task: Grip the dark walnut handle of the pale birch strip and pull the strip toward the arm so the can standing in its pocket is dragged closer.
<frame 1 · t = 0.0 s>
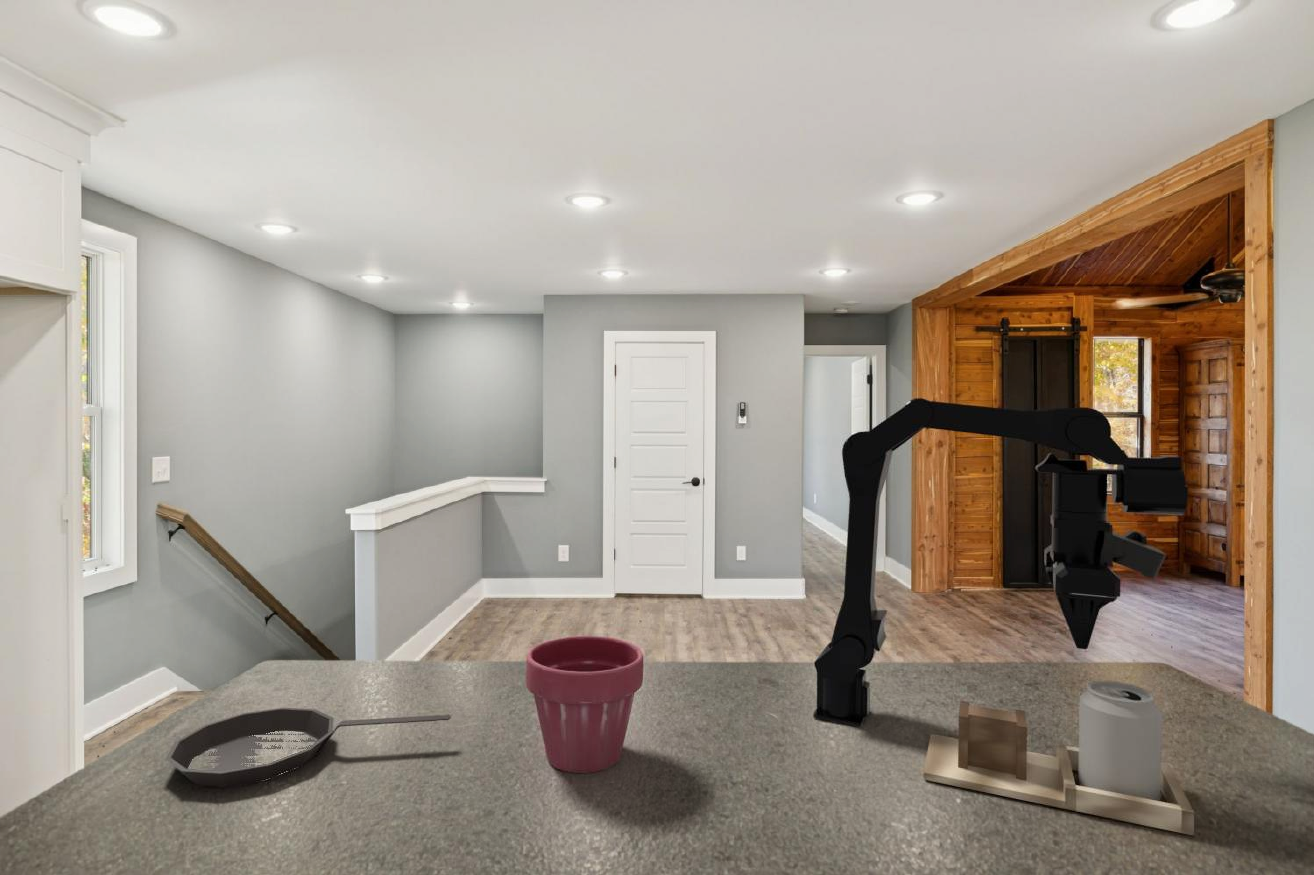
hand: (1077, 637, 85), 15 cm above the countertop, tool pointing down, fingers open, 9 cm apart
can: (1118, 799, 76), resting in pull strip
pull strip: (1045, 751, 79), point 4 cm above the countertop, slide at 0.0 cm
plant pot: (584, 757, 86), on the countertop
frying pan: (316, 756, 86), on the countertop
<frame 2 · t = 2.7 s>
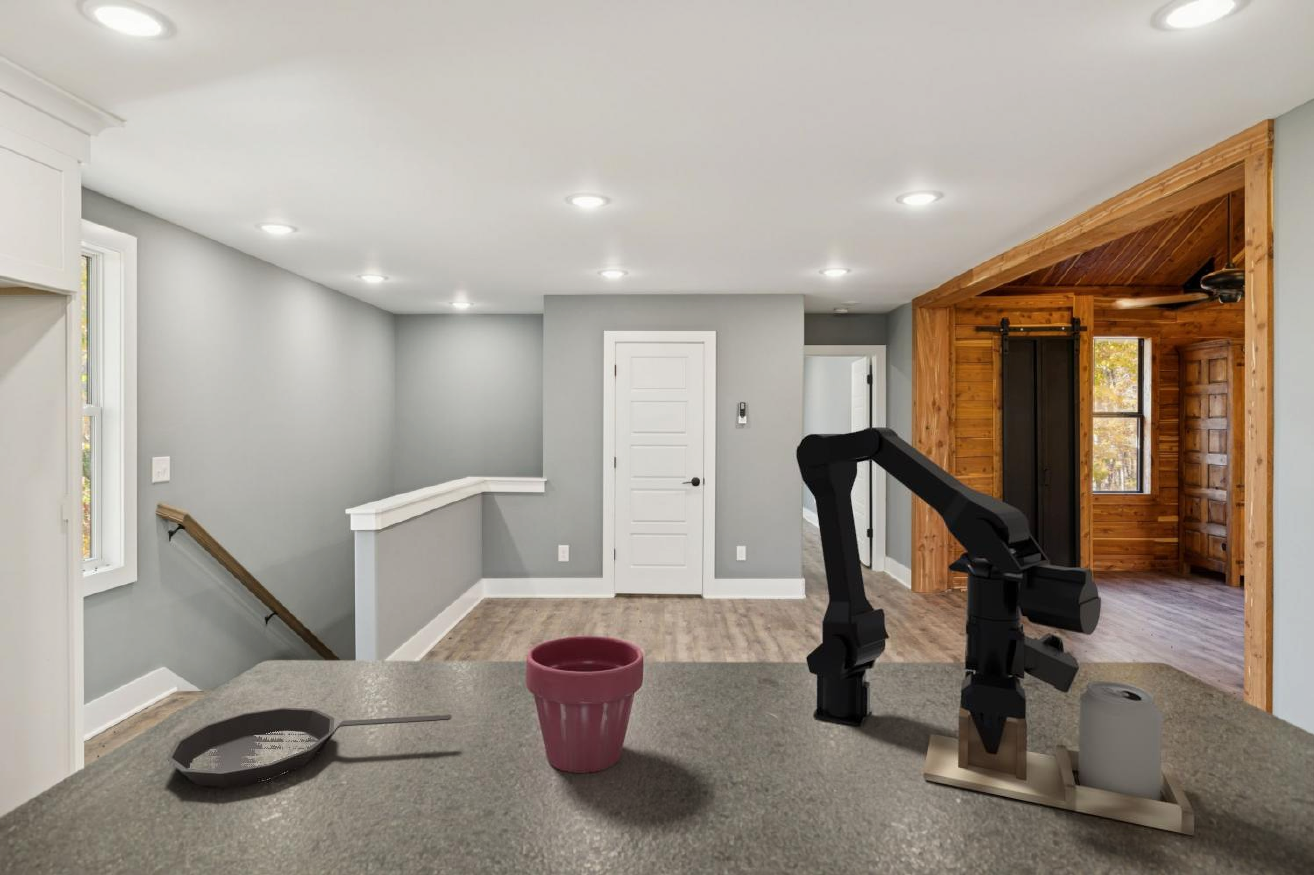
hand: (991, 747, 82), 3 cm above the countertop, tool pointing down, fingers closed on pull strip, 3 cm apart
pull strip: (1045, 751, 79), point 4 cm above the countertop, slide at 0.0 cm, touching gripper
everything else where it was.
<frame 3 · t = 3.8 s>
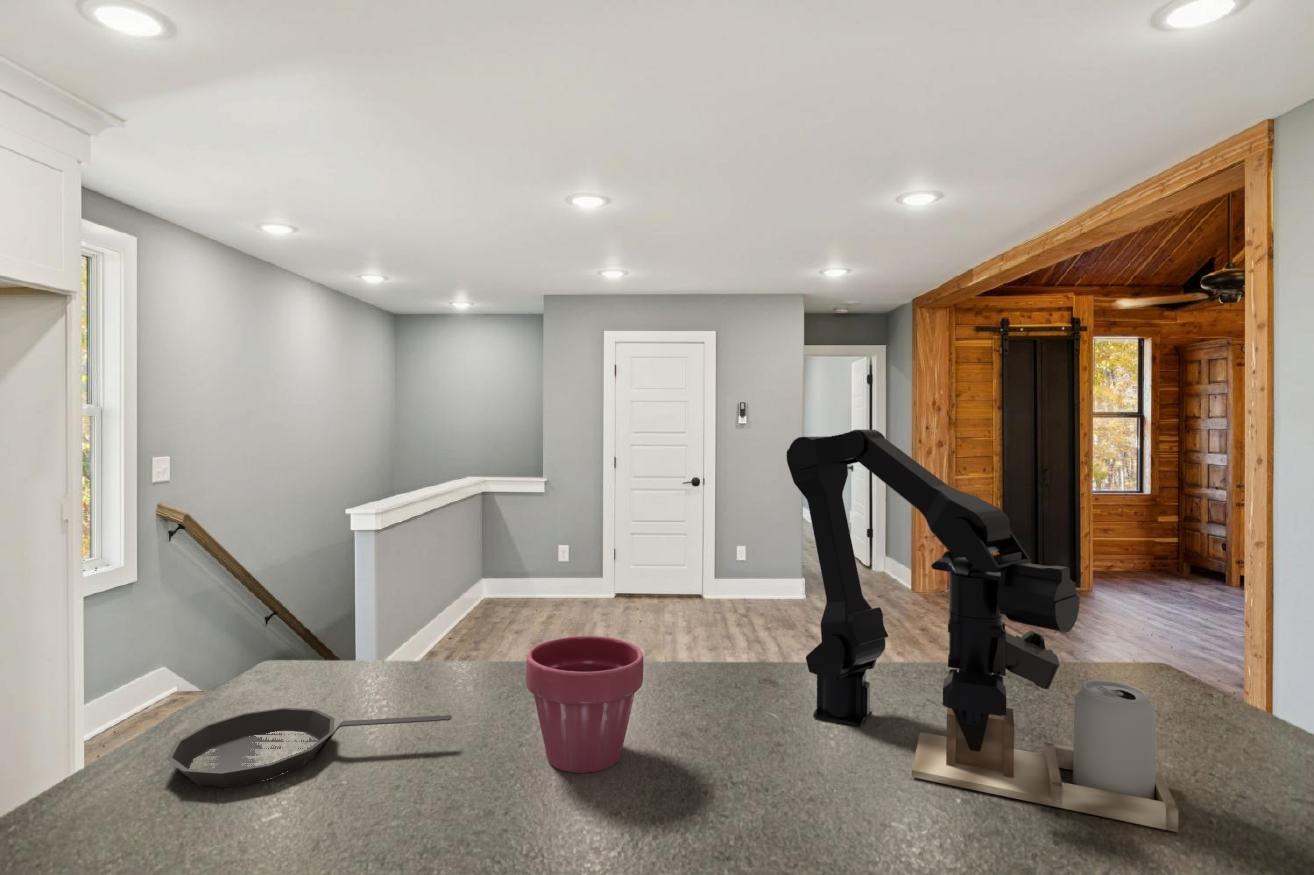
hand: (975, 744, 82), 3 cm above the countertop, tool pointing down, fingers closed on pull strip, 3 cm apart
can: (1112, 798, 76), resting in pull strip
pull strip: (1032, 749, 80), point 4 cm above the countertop, slide at 1.3 cm, touching can, gripper
everything else where it was.
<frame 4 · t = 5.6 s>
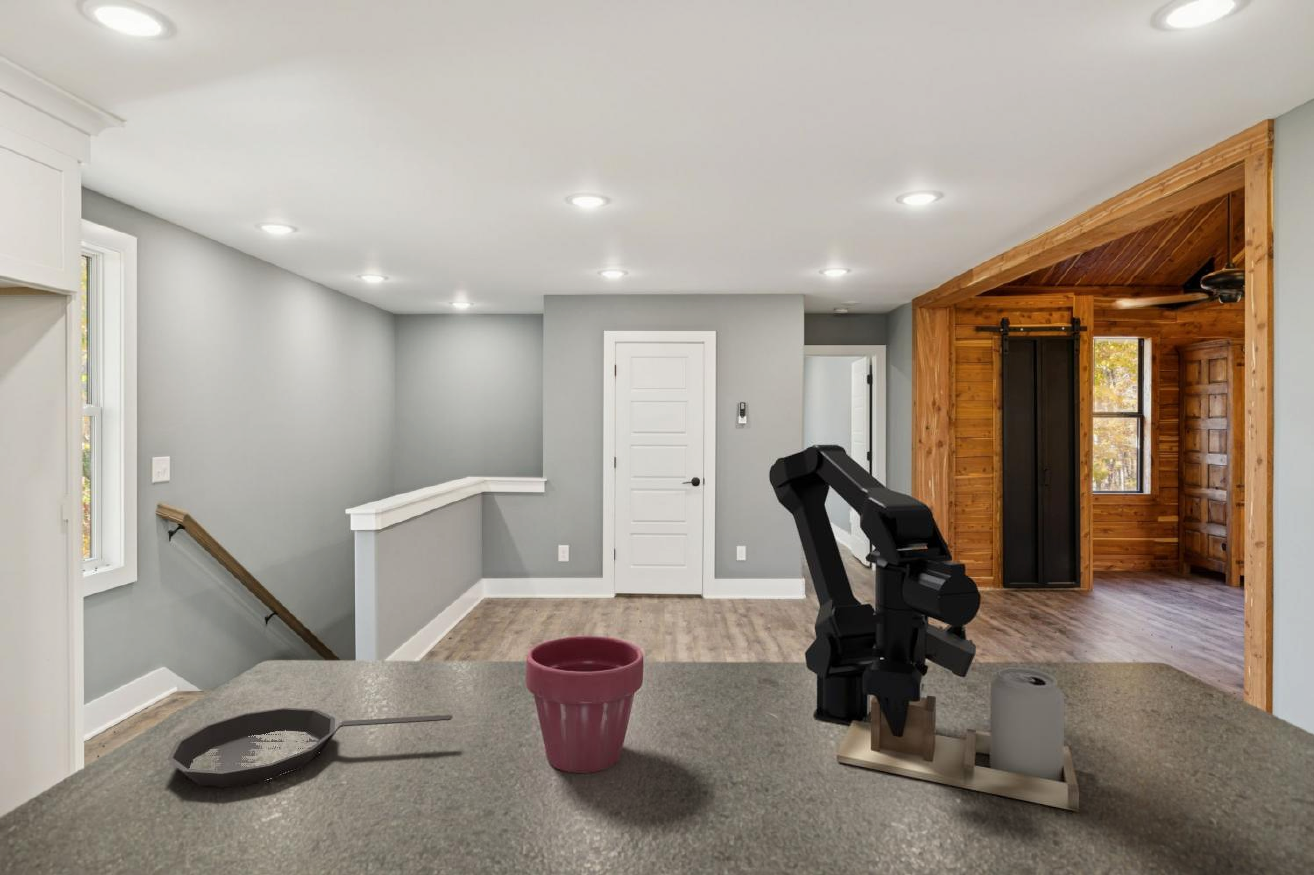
hand: (899, 730, 86), 3 cm above the countertop, tool pointing down, fingers closed on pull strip, 3 cm apart
can: (1025, 779, 80), resting in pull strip
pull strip: (952, 735, 83), point 4 cm above the countertop, slide at 9.8 cm, touching can, gripper
everything else where it was.
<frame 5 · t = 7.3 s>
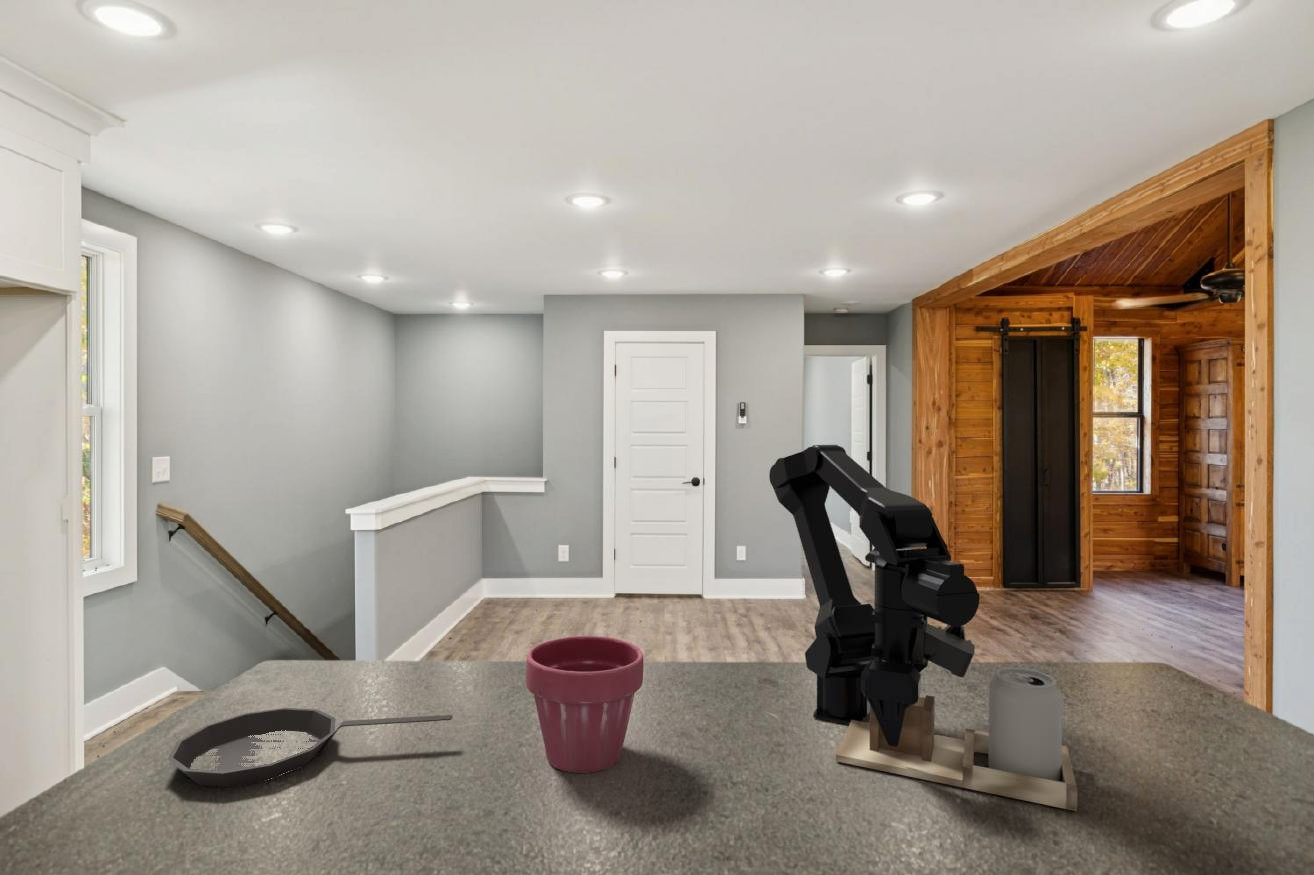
hand: (897, 730, 86), 3 cm above the countertop, tool pointing down, fingers open, 9 cm apart
can: (1023, 779, 80), resting in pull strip
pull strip: (950, 734, 83), point 4 cm above the countertop, slide at 9.9 cm
everything else where it was.
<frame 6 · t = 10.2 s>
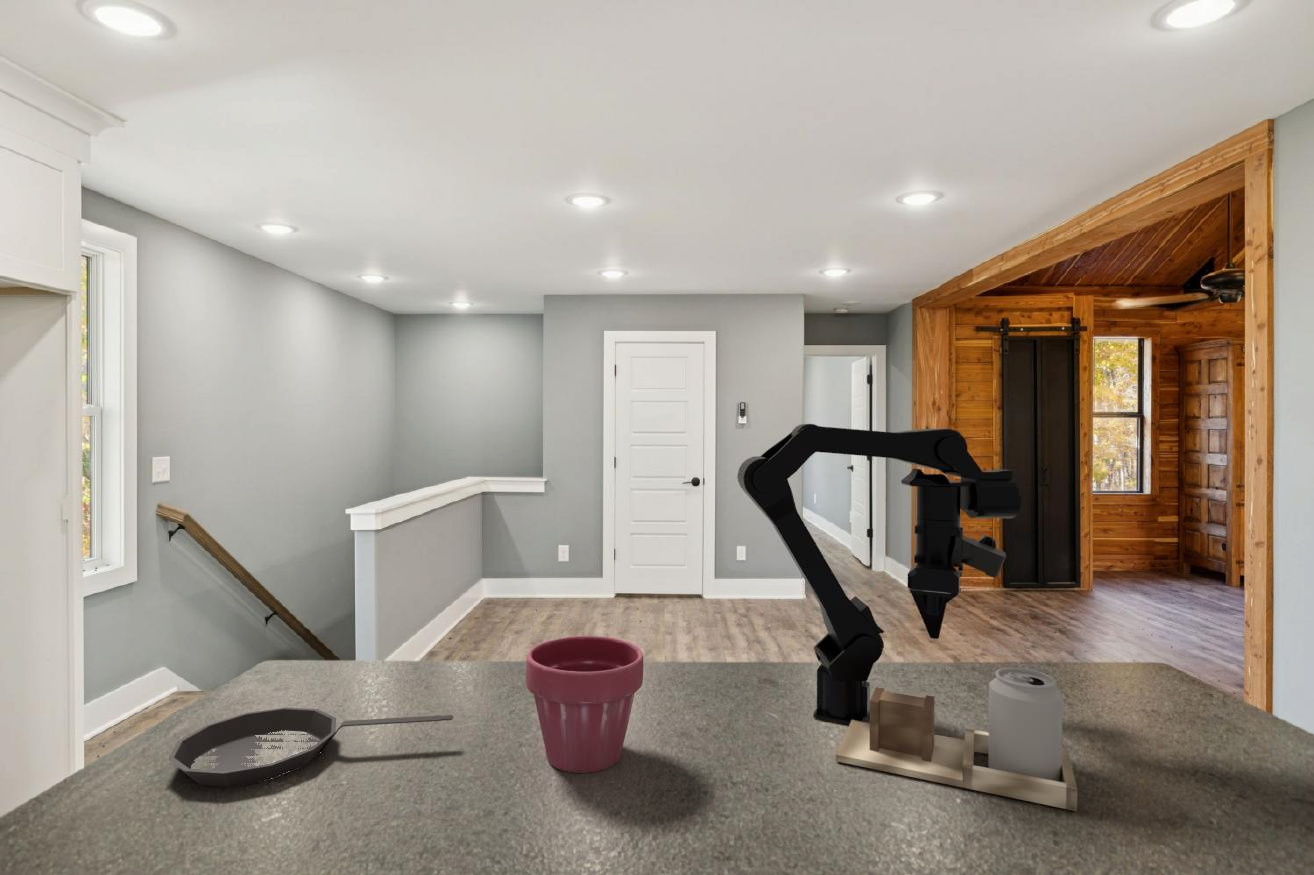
hand: (936, 629, 98), 12 cm above the countertop, tool pointing down, fingers open, 9 cm apart
nothing on the countertop moved.
at the end: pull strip slide at 9.9 cm; can inside the target area (0.9 cm from its centre), resting in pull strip; can tilted 0° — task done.
